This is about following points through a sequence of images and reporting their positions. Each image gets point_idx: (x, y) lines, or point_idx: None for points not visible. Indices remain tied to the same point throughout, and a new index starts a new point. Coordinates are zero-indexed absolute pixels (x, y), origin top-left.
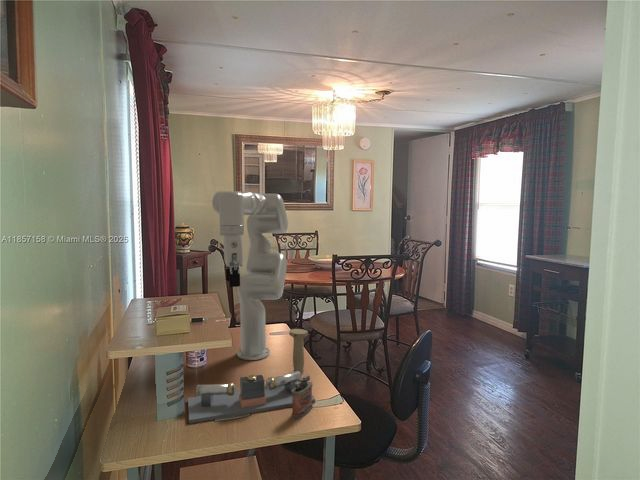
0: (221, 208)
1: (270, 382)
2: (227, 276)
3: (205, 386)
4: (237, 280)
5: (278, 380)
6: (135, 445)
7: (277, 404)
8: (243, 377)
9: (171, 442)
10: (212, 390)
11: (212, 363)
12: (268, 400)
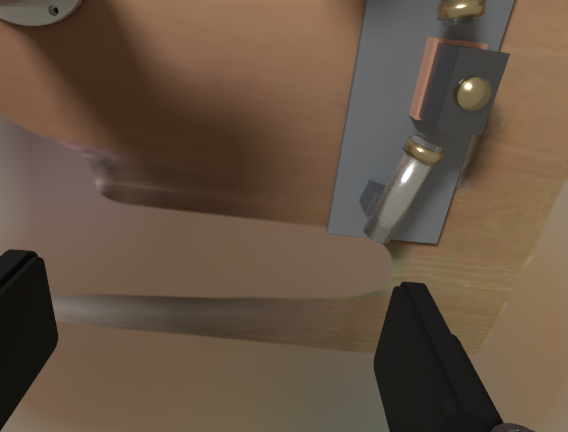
0: None
1: (479, 17)
2: (30, 375)
3: (396, 222)
4: (468, 365)
5: None
6: (452, 325)
7: (505, 8)
8: (443, 118)
9: (483, 274)
10: (411, 203)
11: (86, 130)
12: (464, 28)
